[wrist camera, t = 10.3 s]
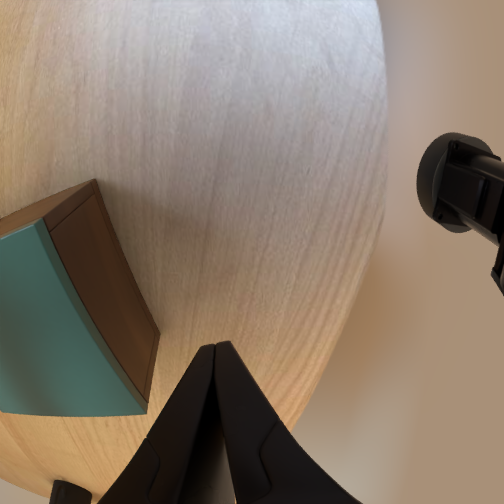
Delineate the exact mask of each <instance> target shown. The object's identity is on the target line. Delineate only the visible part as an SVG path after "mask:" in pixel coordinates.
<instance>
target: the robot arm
mask: <svg viewBox="0 0 504 504" xmlns="http://www.w3.org/2000/svg"><path fill="white" fill-rule="evenodd" d="M454 145H455V148H454ZM439 214H440V216H439V217H438V215H439ZM433 219H434V220H435V221H436V222H438V223H445V224H452V225H458V226H465V227H470V228H472V229H474V230H475V231H476V232H478V233H479V234H481V235H482V236H484V237H485V238H487V239H488V240H490V241H491V242H492V243H494V244H495V245H497V246H498V247H499V248H498V253H497V257H496V261H495V265H494V267H493V268H492V271H491V276H492V278H493V279H494V281H495V282H496V284H497V286H498V287H499V289H500V291H501V292H502V294H503V296H504V163H503V162H501V158H500V157H498V156H496V155H493V154H491V153H489V152H486V151H484V150H482V149H479V148H477V147H474V146H471V145H469V144H466V143H464V142H461V141H458V140H455V139H452V140H450V142H449V145H448V150H447V156H446V161H445V166H444V170H443V175H442V179H441V184H440V188H439V192H438V196H437V200H436V204H435V208H434V212H433ZM146 437H147V438H145V439H144V440H143V442H142V444H141V445H140V447H139V449H138V450H137V452H136V453H135V455H134V456H133V458H132V459H131V461H130V462H129V464H128V465H127V466H126V468H125V469H124V470H123V472H122V473H121V474H120V476H119V477H118V478H117V480H116V481H115V482H114V483H113V485H112V486H111V487H110V488H109V490H108V491H107V492H106V493H105V495H104V496H103V497H102V498H101V499H100V501H99V502H98V503H97V504H235V497H236V502H237V504H363V503H361V502H360V501H358V500H357V499H355V498H354V497H353V496H352V495H350V494H349V493H348V492H347V491H346V490H344V489H343V488H342V487H341V486H340V485H339V484H338V483H337V482H336V481H335V480H333V479H332V478H331V477H330V476H329V475H328V474H327V473H326V472H325V471H324V470H323V469H322V468H321V467H320V466H319V465H318V464H317V463H316V462H315V461H314V460H313V459H312V458H311V457H310V456H309V455H308V454H307V453H306V452H305V451H304V450H303V448H302V447H301V446H300V445H299V444H298V443H297V441H296V440H295V439H294V437H293V436H292V435H291V433H290V432H289V431H288V429H287V428H286V426H285V425H284V423H283V422H282V421H281V420H280V418H279V416H278V415H277V413H276V412H275V410H274V409H273V407H272V406H271V404H270V403H269V401H268V400H267V398H266V397H265V395H264V394H263V392H262V391H261V389H260V388H259V386H258V384H257V383H256V381H255V380H254V378H253V377H252V375H251V373H250V372H249V370H248V369H247V367H246V366H245V364H244V362H243V361H242V359H241V357H240V356H239V354H238V353H237V351H236V349H235V348H234V346H233V344H232V343H231V341H229V340H228V341H223V342H218V343H217V344H216V345H215V344H208V345H203V346H201V347H200V348H199V350H198V352H197V353H196V355H195V357H194V358H193V360H192V362H191V363H190V365H189V367H188V368H187V370H186V371H185V373H184V375H183V376H182V378H181V380H180V381H179V383H178V385H177V386H176V388H175V390H174V391H173V393H172V395H171V396H170V398H169V400H168V401H167V403H166V404H165V406H164V408H163V409H162V411H161V413H160V414H159V416H158V418H157V419H156V421H155V423H154V424H153V426H152V427H151V429H150V431H149V432H148V434H147V436H146ZM234 493H235V495H234Z"/></svg>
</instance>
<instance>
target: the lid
mask: <svg viewBox="0 0 504 504" xmlns="http://www.w3.org/2000/svg"><path fill="white" fill-rule="evenodd" d="M147 409H148V404H147V403H146V401H145V400H144V399H143V397H142V396H141V395H140V393H139V392H138V390H137V389H136V388H135V386H134V385H133V383H132V382H131V381H130V379H129V378H128V376H127V375H126V373H125V372H124V370H123V369H122V367H121V366H120V364H119V363H118V361H117V360H116V358H115V357H114V355H113V354H112V352H111V351H110V349H109V347H108V346H107V344H106V343H105V341H104V339H103V338H102V336H101V335H100V333H99V331H98V329H97V328H96V326H95V324H94V323H93V321H92V319H91V317H90V316H89V314H88V312H87V310H86V309H85V307H84V305H83V303H82V301H81V299H80V298H79V296H78V294H77V292H76V290H75V288H74V286H73V284H72V282H71V280H70V278H69V276H68V274H67V272H66V270H65V268H64V266H63V264H62V262H61V260H60V258H59V255H58V253H57V251H56V249H55V247H54V244H53V242H52V240H51V237H50V235H49V233H48V230H47V228H46V226H45V223H44V221H43V218H39V219H36V220H34V221H32V222H29V223H27V224H25V225H22V226H20V227H18V228H15V229H13V230H11V231H9V232H6V233H4V234H2V235H0V410H1V412H3V413H13V414H24V415H39V416H61V417H105V416H129V415H144V414H147Z"/></svg>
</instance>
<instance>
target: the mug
mask: <svg viewBox="0 0 504 504" xmlns="http://www.w3.org/2000/svg"><path fill="white" fill-rule="evenodd" d="M91 499H92V494H91V493H90V492H89V491H87V490H85V489H83V488H81V487H79V486H77V485H74V484H71V483H68V482H65V481H61V480H55V481H54V484H53V488H52V493H51V497H50V502H49V504H91Z"/></svg>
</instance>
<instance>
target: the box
mask: <svg viewBox="0 0 504 504" xmlns="http://www.w3.org/2000/svg"><path fill="white" fill-rule="evenodd" d="M39 218H43V221H44V223H45V226H46V228H47V230H48V233H49V235H50V237H51V240H52V242H53V244H54V247H55V249H56V251H57V253H58V255H59V258H60V260H61V262H62V264H63V266H64V268H65V270H66V272H67V274H68V276H69V278H70V280H71V282H72V284H73V286H74V288H75V290H76V292H77V294H78V296H79V298H80V299H81V301H82V303H83V305H84V307H85V309H86V310H87V312H88V314H89V316H90V317H91V319H92V321H93V323H94V324H95V326H96V328H97V329H98V331H99V333H100V335H101V336H102V338H103V339H104V341H105V343H106V344H107V346H108V347H109V349H110V351H111V352H112V354H113V355H114V357H115V358H116V360H117V361H118V363H119V364H120V366H121V367H122V369H123V370H124V372H125V373H126V375H127V376H128V378H129V379H130V381H131V382H132V383H133V385H134V386H135V388H136V389H137V390H138V392H139V393H140V395H141V396H142V397H143V399H144V400H145V401H146V403H147V404H148V403H149V396H150V390H151V384H152V378H153V372H154V366H155V360H156V355H157V349H158V344H159V339H160V333H159V331H158V329H157V327H156V325H155V323H154V321H153V319H152V317H151V314H150V312H149V310H148V308H147V306H146V304H145V302H144V300H143V298H142V295H141V293H140V291H139V289H138V287H137V285H136V282H135V280H134V278H133V276H132V273H131V271H130V269H129V266H128V264H127V262H126V259H125V257H124V254H123V252H122V250H121V247H120V245H119V242H118V240H117V237H116V235H115V232H114V230H113V227H112V224H111V222H110V219H109V217H108V214H107V211H106V208H105V206H104V203H103V200H102V197H101V194H100V192H99V189H98V186H97V183H96V180H95V179H92V180H89V181H87V182H84V183H82V184H79V185H76V186H74V187H71V188H69V189H66V190H64V191H62V192H59V193H57V194H54V195H52V196H50V197H47V198H45V199H43V200H40V201H38V202H36V203H34V204H31V205H29V206H27V207H25V208H23V209H20V210H18V211H16V212H14V213H12V214H10V215H8V216H6V217H4V218H2V219H0V235H2V234H4V233H6V232H9V231H11V230H13V229H15V228H18V227H20V226H22V225H25V224H27V223H29V222H32V221H34V220H36V219H39Z"/></svg>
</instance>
